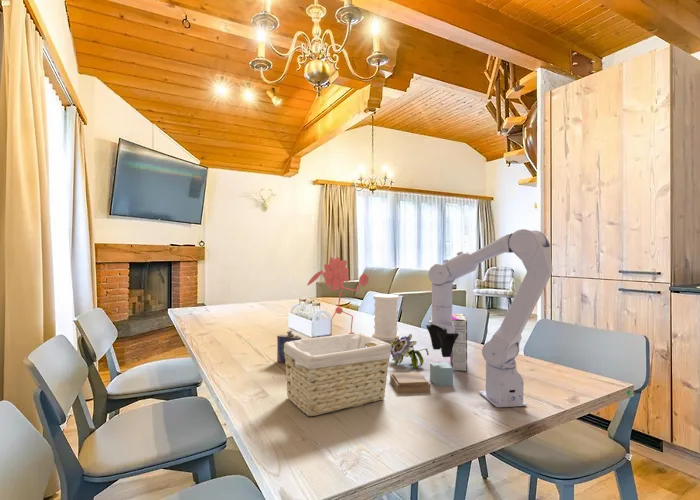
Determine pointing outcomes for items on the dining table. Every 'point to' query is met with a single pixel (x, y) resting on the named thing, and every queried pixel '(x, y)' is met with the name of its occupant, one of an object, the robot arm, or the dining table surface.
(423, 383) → the square coaster
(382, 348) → the storage basket
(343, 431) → the dining table surface
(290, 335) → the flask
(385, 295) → the decorative container
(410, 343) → the passion flower
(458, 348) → the candy bar box
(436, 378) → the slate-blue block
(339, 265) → the figurine
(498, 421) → the dining table surface
